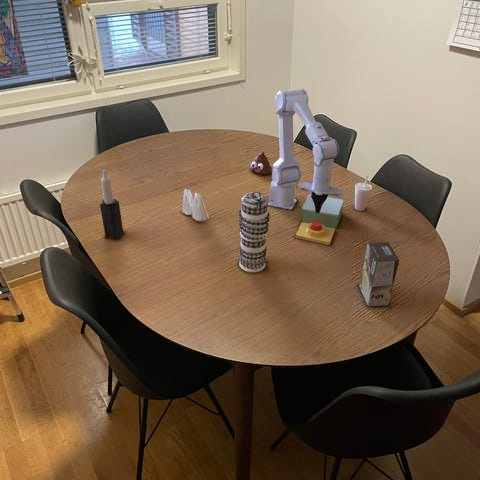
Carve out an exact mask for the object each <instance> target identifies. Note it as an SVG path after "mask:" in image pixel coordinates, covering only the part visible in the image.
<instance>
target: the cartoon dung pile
mask: <svg viewBox="0 0 480 480" xmlns="http://www.w3.org/2000/svg"><path fill="white" fill-rule="evenodd" d="M249 170H250V172H252V173H254V174H257V175H259V176H266V175H270V174H272V172H273V167H272V165H271V164H270V161H269V158H268V157H267V156H266V155H265V151H262V152H259V153H258V154H257V155H256V156H255V157H254V158H253V159H252V161H251V164H250V166H249Z"/></svg>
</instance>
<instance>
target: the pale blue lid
mask: <svg viewBox="0 0 480 480" xmlns="http://www.w3.org/2000/svg"><path fill="white" fill-rule="evenodd" d="M311 194H312V193H308V195H307V197H306V199H305V201H304V203H303V204H302V207H301V210H302V211H304V210H307V211H312V212H315V205H314V202H313V200H312V198H311ZM344 202H345V200H344V199H342V198H335V197H330V196H328V197H327V199H326V201H325V202H324V203H323V205H322V207H321V211H320V213H322V214H327V215H333V216H338V215H339V213H340V210H341V207H342V204H343V205H344Z"/></svg>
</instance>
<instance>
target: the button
mask: <svg viewBox="0 0 480 480" xmlns="http://www.w3.org/2000/svg"><path fill="white" fill-rule="evenodd" d="M321 227H322V223H321V222H318V221H313V222H312V223H311V229H312V230H314V231H320V230H321Z"/></svg>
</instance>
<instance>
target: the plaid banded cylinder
mask: <svg viewBox="0 0 480 480" xmlns="http://www.w3.org/2000/svg"><path fill="white" fill-rule="evenodd" d="M240 203H241V209H239V210H238V218H239V220H238V222H239V224H238V225H239V235H240V237H241V239H240V244H239V255H238V257H239V259H238V261H239V267H240V268H241V270H244V271H245V272H247V273H259V272H261V271H263V270H265V268H266V266H267V265H266V262H267V261H266V260H267V248H268V246H267V241H266V240H267V236H268V232H269V222H270V217H271V215H270V214H271V213H270V212H269V209H268V207H269V205H268V204H269V197H266V196H265V195H264V194H263V193H262V192H260V191H250V192H247V193H246V194H245V195H244V196H242V197H241V199H240Z"/></svg>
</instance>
